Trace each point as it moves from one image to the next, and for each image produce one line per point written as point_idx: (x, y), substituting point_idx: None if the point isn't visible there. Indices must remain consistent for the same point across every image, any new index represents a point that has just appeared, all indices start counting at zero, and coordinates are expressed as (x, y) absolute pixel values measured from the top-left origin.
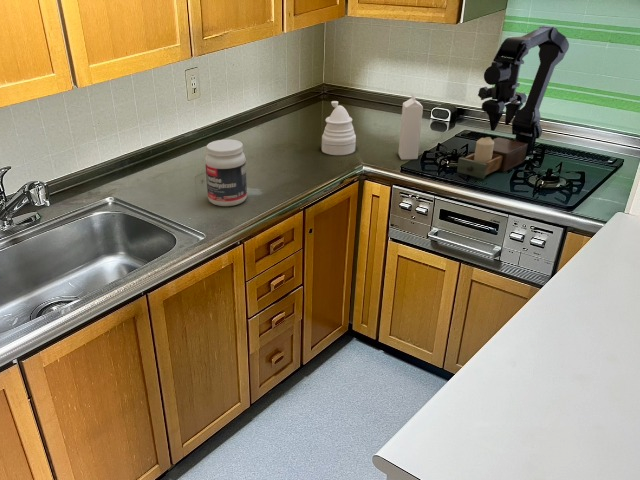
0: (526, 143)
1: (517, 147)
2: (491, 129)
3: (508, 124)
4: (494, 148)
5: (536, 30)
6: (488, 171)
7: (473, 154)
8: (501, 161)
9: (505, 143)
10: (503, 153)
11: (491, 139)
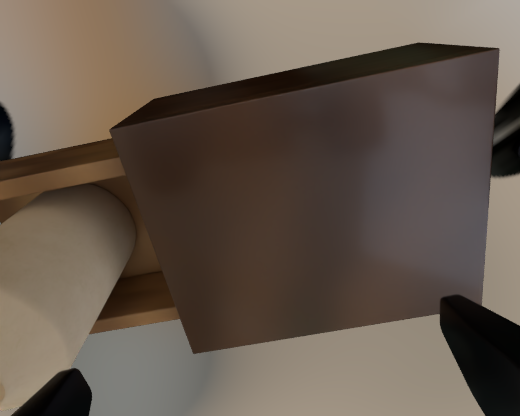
0: (481, 298)
1: (353, 317)
2: (55, 385)
3: (450, 335)
4: (199, 248)
5: None
6: None
7: (17, 193)
8: None
9: (371, 216)
10: (186, 331)
11: (13, 402)
